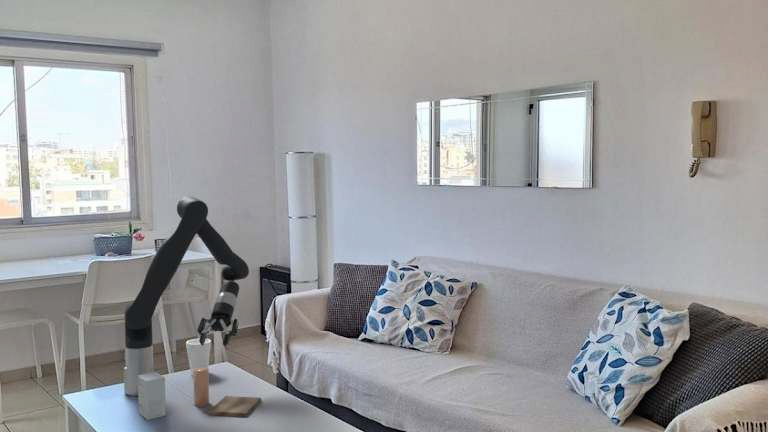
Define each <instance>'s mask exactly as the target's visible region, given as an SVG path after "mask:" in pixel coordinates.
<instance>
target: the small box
mask: <svg viewBox="0 0 768 432" xmlns="http://www.w3.org/2000/svg"><path fill="white" fill-rule="evenodd" d="M137 398H138V414H139V415H140V416H142V417H143V418H144V419H145V420H152V419H154V420H155V419H156V418H162V417H165V416H166V415H167V413H166V412H167V411H166V410H167V409H166V405H167V404H166V377H165V376H163V375H162V374H160V373H159V372H157V371H153V373H147V374H142V375H138V396H137Z"/></svg>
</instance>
